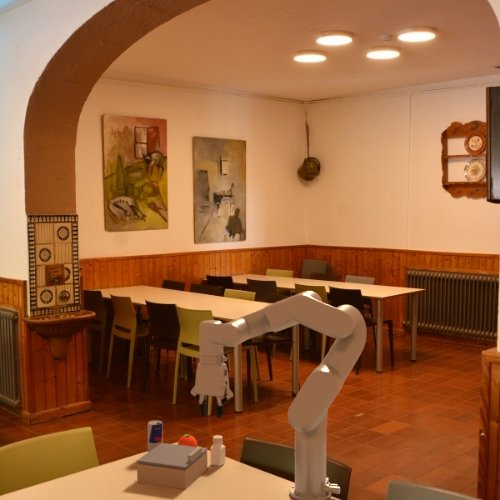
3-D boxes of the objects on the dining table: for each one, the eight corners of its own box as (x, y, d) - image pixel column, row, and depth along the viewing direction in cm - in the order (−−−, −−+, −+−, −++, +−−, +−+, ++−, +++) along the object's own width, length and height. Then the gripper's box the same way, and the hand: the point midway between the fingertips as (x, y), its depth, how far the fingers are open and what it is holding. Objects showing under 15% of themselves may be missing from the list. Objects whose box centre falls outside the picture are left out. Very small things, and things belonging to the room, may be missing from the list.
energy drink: (160, 458, 229) (159, 425, 228) (145, 457, 230) (145, 424, 229) (165, 453, 234) (164, 420, 233) (150, 452, 235) (150, 419, 234)
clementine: (174, 452, 235) (174, 432, 235) (192, 449, 238) (192, 429, 238) (181, 459, 228) (181, 439, 228) (200, 456, 231) (200, 436, 230)
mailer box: (207, 469, 219) (207, 451, 219) (185, 489, 203) (185, 470, 203) (162, 463, 225) (161, 445, 224) (137, 482, 209) (137, 463, 208)
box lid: (207, 450, 219) (207, 442, 218) (185, 469, 203) (185, 460, 202) (161, 445, 224) (161, 437, 224) (137, 462, 208) (136, 454, 208)
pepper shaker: (209, 465, 223) (209, 437, 222) (215, 461, 226) (215, 434, 226) (220, 467, 221) (219, 439, 220) (225, 463, 224) (225, 435, 224)
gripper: (240, 358, 208) (241, 415, 209) (192, 355, 213) (192, 410, 214) (232, 364, 201) (232, 422, 201) (182, 360, 206) (182, 417, 207)
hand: (212, 415), depth 208 cm, fingers open, 4 cm apart
